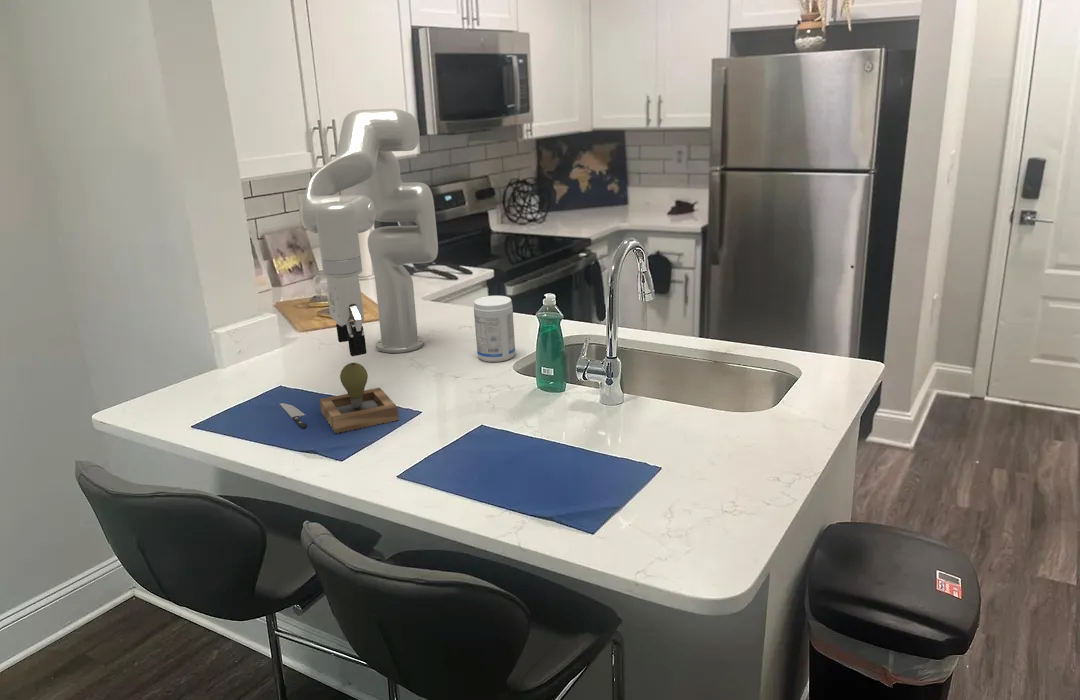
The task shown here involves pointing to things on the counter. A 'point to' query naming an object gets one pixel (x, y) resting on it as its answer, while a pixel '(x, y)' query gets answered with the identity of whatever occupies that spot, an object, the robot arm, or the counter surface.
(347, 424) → the cradle
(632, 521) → the counter surface
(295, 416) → the chef's knife
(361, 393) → the light bulb
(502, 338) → the supplement tub
